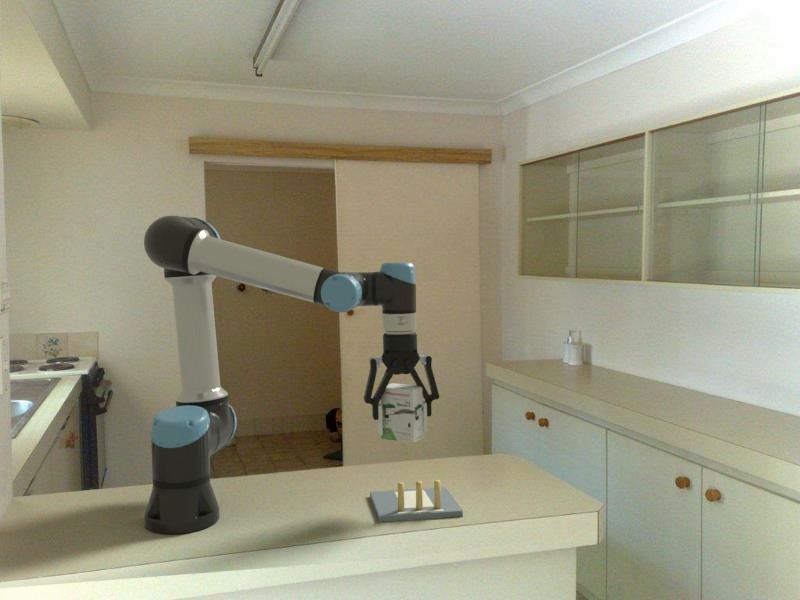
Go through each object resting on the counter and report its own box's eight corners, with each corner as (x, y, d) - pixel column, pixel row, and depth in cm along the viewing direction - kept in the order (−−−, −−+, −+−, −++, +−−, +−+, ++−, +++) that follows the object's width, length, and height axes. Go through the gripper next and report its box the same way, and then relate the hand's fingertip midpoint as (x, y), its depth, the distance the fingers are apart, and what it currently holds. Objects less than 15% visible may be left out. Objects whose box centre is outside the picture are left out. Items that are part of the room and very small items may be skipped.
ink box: (380, 439, 160) (378, 386, 159) (391, 434, 164) (390, 382, 163) (414, 443, 155) (412, 389, 155) (424, 438, 160) (423, 385, 159)
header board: (379, 521, 151) (379, 488, 150) (370, 496, 167) (369, 466, 166) (462, 516, 154) (462, 483, 153) (445, 492, 170) (445, 462, 169)
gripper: (351, 336, 153) (354, 439, 154) (452, 331, 156) (454, 433, 158) (348, 332, 160) (351, 431, 162) (444, 328, 164) (447, 425, 165)
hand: (402, 432), depth 160 cm, fingers closed on ink box, 9 cm apart
